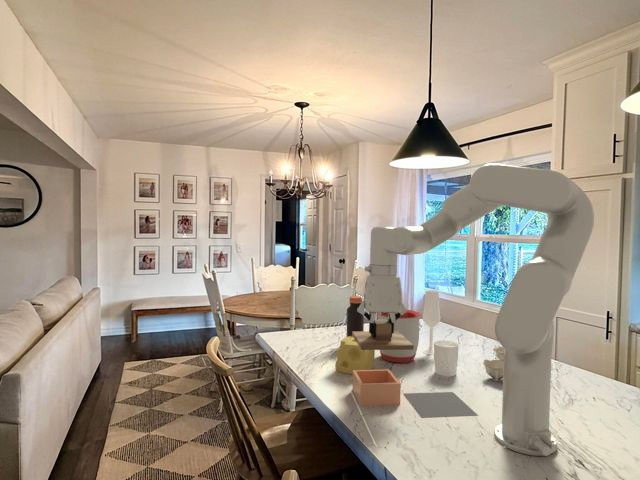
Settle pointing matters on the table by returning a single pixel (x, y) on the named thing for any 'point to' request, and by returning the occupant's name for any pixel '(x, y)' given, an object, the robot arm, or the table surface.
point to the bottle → (354, 316)
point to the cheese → (353, 357)
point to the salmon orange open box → (376, 387)
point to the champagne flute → (431, 315)
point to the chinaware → (496, 365)
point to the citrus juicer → (408, 329)
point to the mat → (439, 405)
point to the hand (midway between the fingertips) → (381, 335)
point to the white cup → (445, 358)
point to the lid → (382, 338)
